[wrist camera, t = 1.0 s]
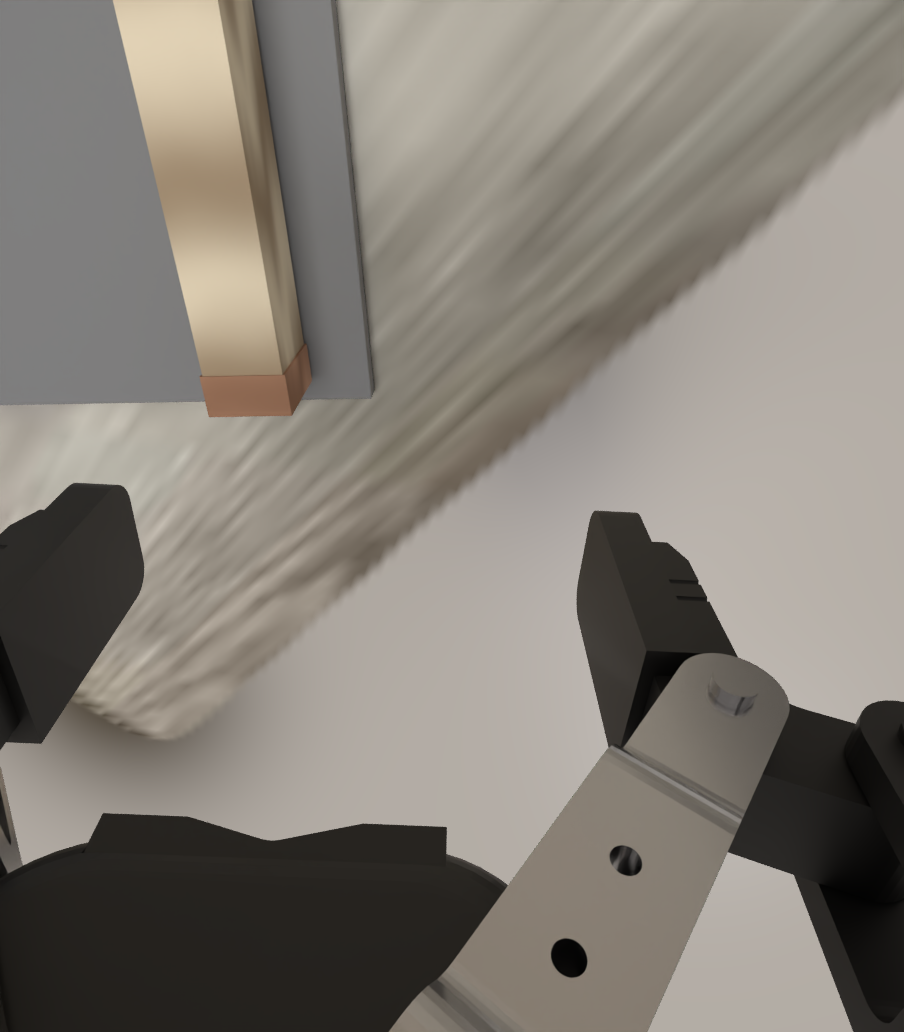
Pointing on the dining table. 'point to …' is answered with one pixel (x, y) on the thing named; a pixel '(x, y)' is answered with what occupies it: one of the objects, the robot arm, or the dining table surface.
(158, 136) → the brass latch lever
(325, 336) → the base plate
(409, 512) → the dining table surface
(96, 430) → the dining table surface
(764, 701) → the robot arm
